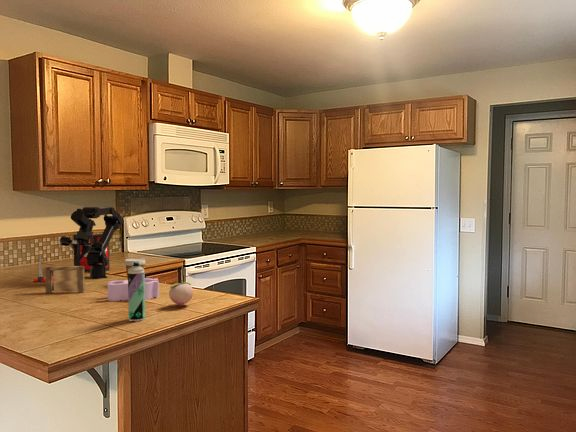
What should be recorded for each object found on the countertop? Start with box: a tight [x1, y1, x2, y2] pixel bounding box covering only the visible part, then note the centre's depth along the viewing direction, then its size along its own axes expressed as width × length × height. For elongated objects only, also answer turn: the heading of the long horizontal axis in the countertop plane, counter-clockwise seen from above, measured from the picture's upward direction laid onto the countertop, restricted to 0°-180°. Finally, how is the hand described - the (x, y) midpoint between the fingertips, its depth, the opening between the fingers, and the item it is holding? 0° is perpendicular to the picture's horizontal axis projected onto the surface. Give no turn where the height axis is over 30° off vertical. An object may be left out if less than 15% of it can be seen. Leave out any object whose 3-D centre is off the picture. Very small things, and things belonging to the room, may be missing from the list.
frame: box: [44, 265, 86, 294], centre depth 203 cm, size 16×2×11 cm, turn 93°
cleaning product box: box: [72, 233, 110, 273], centre depth 257 cm, size 16×9×20 cm, turn 68°
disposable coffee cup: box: [124, 257, 147, 280], centre depth 219 cm, size 10×10×12 cm
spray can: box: [127, 262, 146, 322], centre depth 161 cm, size 6×6×20 cm
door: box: [52, 270, 78, 293], centre depth 203 cm, size 11×2×10 cm, turn 94°
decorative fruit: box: [168, 280, 194, 306], centre depth 180 cm, size 9×8×10 cm
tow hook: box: [33, 255, 54, 283], centre depth 230 cm, size 8×13×9 cm
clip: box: [107, 277, 160, 302], centre depth 194 cm, size 20×12×7 cm, turn 109°
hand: (77, 260), depth 218 cm, fingers closed
